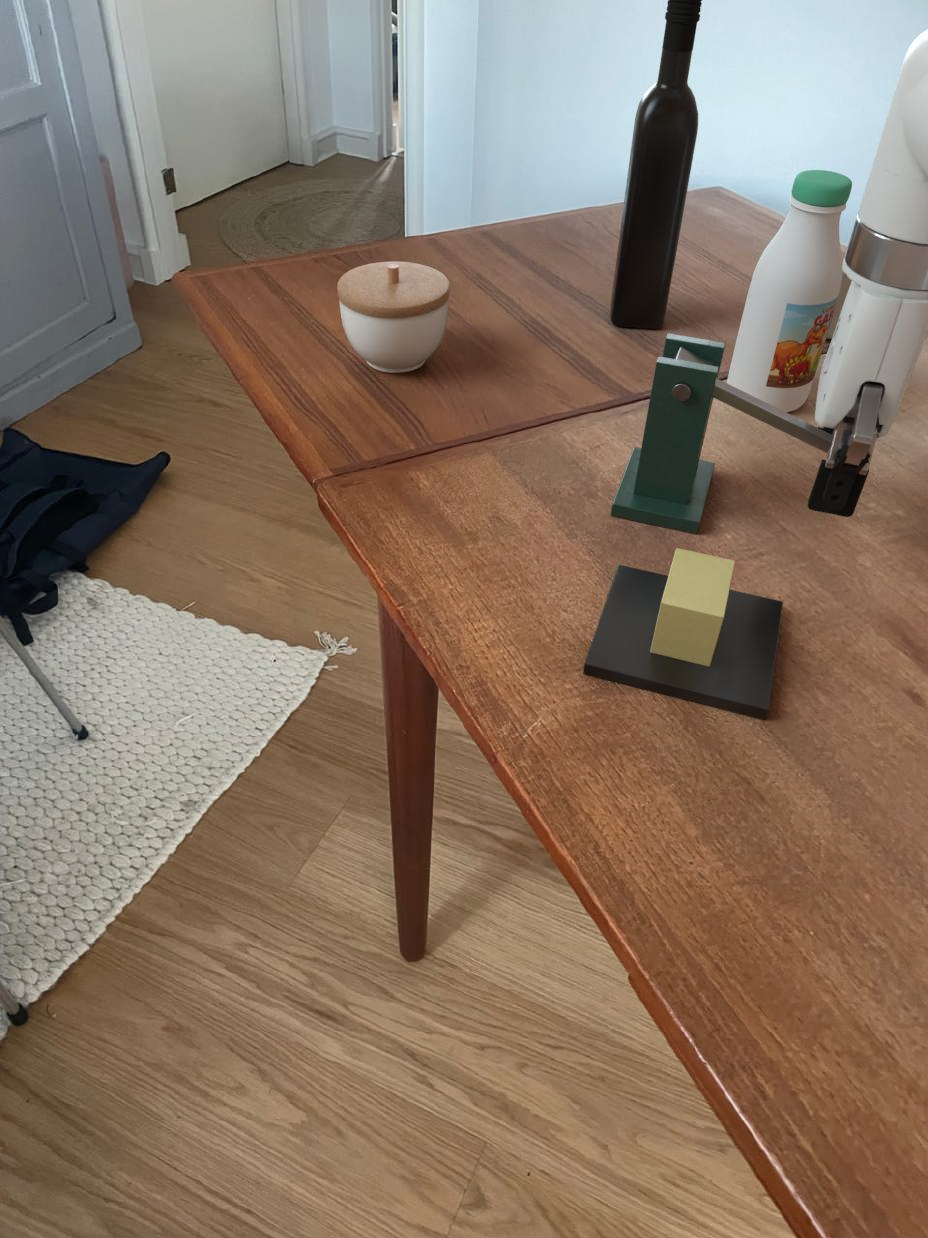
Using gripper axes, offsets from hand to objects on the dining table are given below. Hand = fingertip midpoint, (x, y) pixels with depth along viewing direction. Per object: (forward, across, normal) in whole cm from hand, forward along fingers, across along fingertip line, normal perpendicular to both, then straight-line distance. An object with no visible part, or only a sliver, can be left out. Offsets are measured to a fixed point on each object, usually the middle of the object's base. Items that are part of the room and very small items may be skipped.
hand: (832, 475), depth 72 cm
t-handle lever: (-3, 0, -7) cm, 7 cm away
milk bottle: (+5, -20, -6) cm, 22 cm away
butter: (+4, +17, -8) cm, 19 cm away
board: (+5, +17, -8) cm, 19 cm away
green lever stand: (+5, 0, -12) cm, 13 cm away
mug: (+5, -38, -2) cm, 38 cm away
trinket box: (+5, -14, -42) cm, 44 cm away
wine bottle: (+5, -32, -21) cm, 39 cm away
